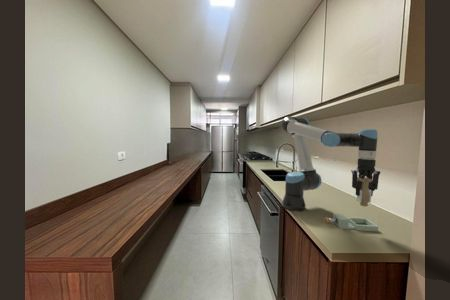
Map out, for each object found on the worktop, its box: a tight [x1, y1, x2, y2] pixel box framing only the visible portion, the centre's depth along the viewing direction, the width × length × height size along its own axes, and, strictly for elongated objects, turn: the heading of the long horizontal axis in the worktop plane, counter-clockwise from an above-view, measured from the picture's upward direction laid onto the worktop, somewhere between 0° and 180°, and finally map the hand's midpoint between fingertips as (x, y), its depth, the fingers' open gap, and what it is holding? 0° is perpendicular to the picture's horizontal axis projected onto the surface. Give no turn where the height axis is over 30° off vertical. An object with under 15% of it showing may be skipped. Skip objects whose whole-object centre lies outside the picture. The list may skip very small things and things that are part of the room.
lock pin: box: [324, 216, 338, 224], centre depth 101 cm, size 3×7×3 cm, turn 86°
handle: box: [357, 176, 373, 207], centre depth 98 cm, size 5×6×15 cm
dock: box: [332, 213, 379, 232], centre depth 100 cm, size 10×18×5 cm, turn 86°
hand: (363, 201), depth 98 cm, fingers closed on handle, 4 cm apart
